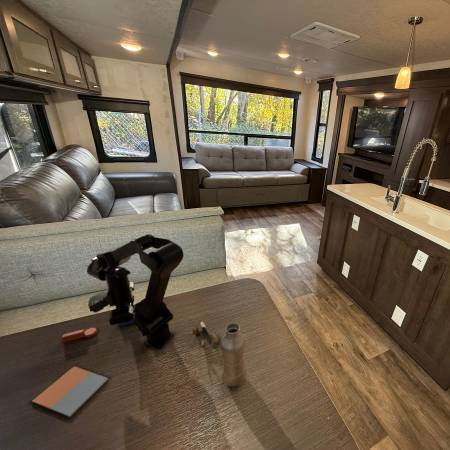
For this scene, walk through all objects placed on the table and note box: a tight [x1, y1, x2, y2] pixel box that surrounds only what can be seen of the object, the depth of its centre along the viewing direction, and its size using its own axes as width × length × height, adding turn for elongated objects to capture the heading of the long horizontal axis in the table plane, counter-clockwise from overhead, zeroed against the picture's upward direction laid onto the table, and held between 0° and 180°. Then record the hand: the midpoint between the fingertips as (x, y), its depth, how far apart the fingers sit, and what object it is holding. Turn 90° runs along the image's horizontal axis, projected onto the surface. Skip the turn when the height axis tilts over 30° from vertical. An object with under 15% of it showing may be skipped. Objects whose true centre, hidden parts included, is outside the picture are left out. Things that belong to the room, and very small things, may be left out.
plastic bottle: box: [219, 322, 247, 388], centre depth 68 cm, size 6×7×20 cm
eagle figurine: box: [187, 321, 221, 348], centre depth 82 cm, size 8×7×9 cm
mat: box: [31, 365, 109, 418], centre depth 66 cm, size 12×10×1 cm
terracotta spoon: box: [61, 327, 98, 343], centre depth 80 cm, size 8×3×2 cm, turn 121°
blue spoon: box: [118, 319, 135, 327], centre depth 88 cm, size 8×3×2 cm, turn 121°
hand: (127, 320), depth 87 cm, fingers closed on blue spoon, 1 cm apart
